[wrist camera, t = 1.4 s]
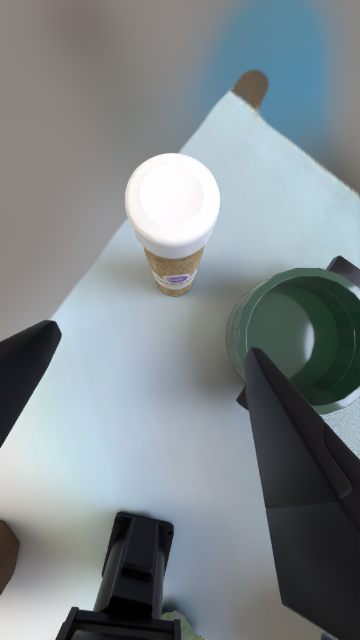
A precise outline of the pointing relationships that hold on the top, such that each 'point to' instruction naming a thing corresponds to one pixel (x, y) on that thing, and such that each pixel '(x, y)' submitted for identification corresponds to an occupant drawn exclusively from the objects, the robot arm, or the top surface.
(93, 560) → the top surface
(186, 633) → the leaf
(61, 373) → the top surface
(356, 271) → the pot handles
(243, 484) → the top surface
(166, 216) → the sprinkles bottle
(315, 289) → the pot
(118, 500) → the top surface
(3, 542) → the beer bottle
